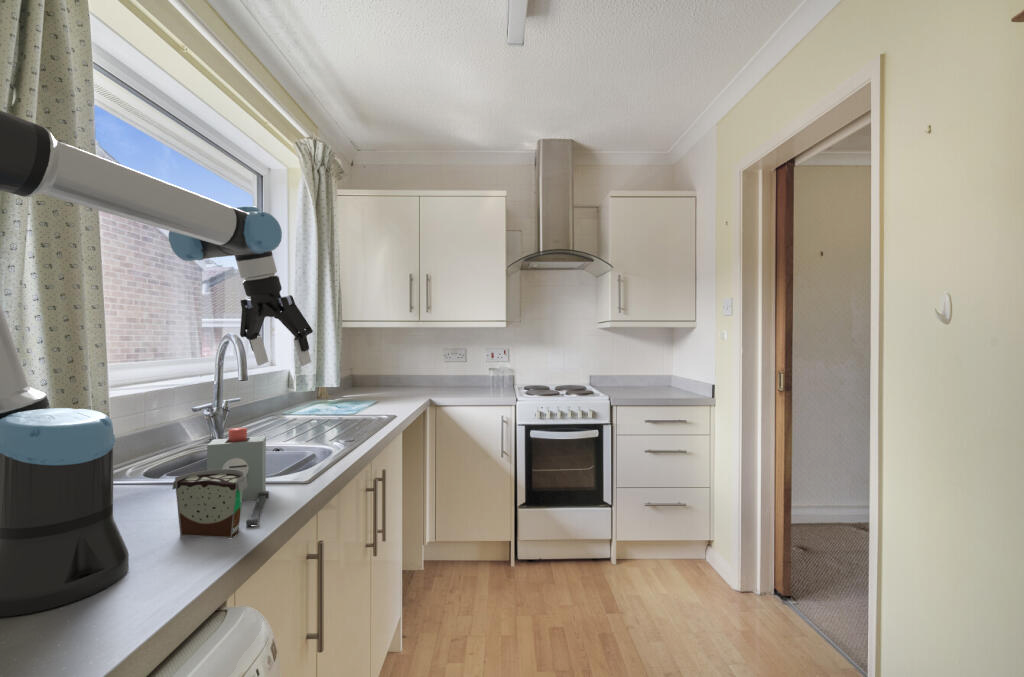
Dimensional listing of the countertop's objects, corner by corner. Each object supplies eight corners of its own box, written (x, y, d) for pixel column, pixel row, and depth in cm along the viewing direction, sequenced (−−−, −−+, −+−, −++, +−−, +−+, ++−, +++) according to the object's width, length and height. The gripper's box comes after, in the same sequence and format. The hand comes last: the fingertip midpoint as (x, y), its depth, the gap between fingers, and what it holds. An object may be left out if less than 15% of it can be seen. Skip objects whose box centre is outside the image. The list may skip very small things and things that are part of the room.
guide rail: (246, 527, 84) (246, 520, 84) (259, 497, 99) (259, 491, 99) (257, 525, 84) (257, 519, 84) (268, 496, 100) (268, 490, 100)
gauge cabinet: (206, 504, 95) (206, 445, 95) (213, 495, 100) (213, 439, 100) (262, 498, 98) (262, 441, 98) (265, 490, 104) (265, 436, 104)
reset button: (227, 442, 97) (227, 431, 97) (230, 439, 101) (230, 428, 101) (245, 441, 99) (245, 429, 99) (248, 438, 102) (248, 427, 102)
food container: (262, 524, 85) (263, 469, 85) (239, 539, 79) (240, 479, 79) (199, 521, 86) (199, 467, 86) (172, 535, 80) (172, 477, 80)
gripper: (314, 270, 106) (335, 358, 112) (234, 276, 115) (258, 358, 121) (289, 276, 99) (313, 370, 105) (206, 283, 108) (233, 368, 114)
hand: (284, 363), depth 113 cm, fingers open, 13 cm apart
